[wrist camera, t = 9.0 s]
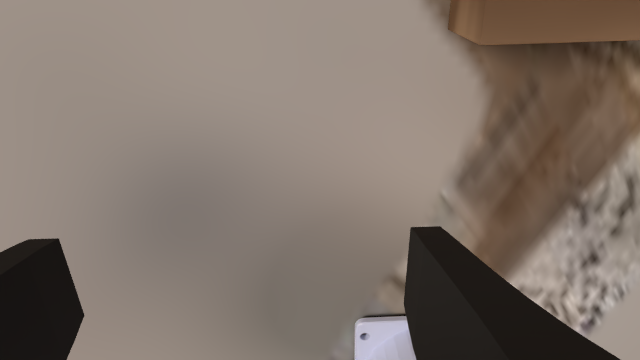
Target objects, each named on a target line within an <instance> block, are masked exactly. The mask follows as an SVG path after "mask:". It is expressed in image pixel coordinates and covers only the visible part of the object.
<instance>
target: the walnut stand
mask: <svg viewBox="0 0 640 360" xmlns="http://www.w3.org/2000/svg"><path fill="white" fill-rule="evenodd" d="M448 30H450V31H452V32H454V33H456V34H459V35H461V36H463V37H465V38H467V39H469V40H471V41H473V42H475V43H477V44H479V45H502V44H534V43H565V42H597V41H628V40H640V0H451V4H450V14H449V24H448Z"/></svg>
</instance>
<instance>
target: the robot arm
mask: <svg viewBox="0 0 640 360" xmlns="http://www.w3.org/2000/svg"><path fill="white" fill-rule="evenodd" d="M404 307H405V312H406V316H394V317H371V318H361V319H359V320H357V322H356V323H355V356H354V360H620V359H619V358H617V357H616V356H614V355H612V354H611V353H609V352H607V351H606V350H604V349H603V348H601V347H599V346H598V345H596V344H595V343H593V342H591V341H590V340H588V339H587V338H585V337H583V336H582V335H580V334H579V333H577V332H576V331H574V330H573V329H571V328H570V327H568V326H567V325H565V324H564V323H563V322H561V321H560V320H558V319H557V318H556V317H554V316H553V315H551V314H550V313H549V312H547V311H546V310H544V309H543V308H542V307H540V306H539V305H537V304H536V303H535V302H533V301H532V300H530V299H529V298H528V297H526V296H525V295H524V294H523V293H521V292H520V291H519V290H517V289H516V288H515V287H513V286H512V285H511V284H510V283H508V282H507V281H506V280H504V279H503V278H502V277H501V276H499V275H498V274H497V273H496V272H494V271H493V270H492V269H491V268H490V267H488V266H487V265H486V264H485V263H483V262H482V261H481V260H480V259H479V258H478V257H476V256H475V255H474V254H473V253H472V252H470V251H469V250H468V249H467V248H466V247H464V246H463V245H462V244H461V243H460V242H459V241H457V240H456V239H455V238H454V237H453V236H451V235H450V234H449V233H448V232H446V231H445V230H444V229H443V228H441V227H440V226H439V227H411V230H410V241H409V252H408V263H407V274H406V285H405V296H404ZM83 317H84V313H83V310H82V307H81V304H80V301H79V298H78V295H77V292H76V289H75V286H74V283H73V280H72V277H71V274H70V271H69V268H68V265H67V262H66V259H65V256H64V253H63V250H62V247H61V244H60V241H59V239H30V240H26V241H24V242H22V243H19V244H17V245H15V246H13V247H10V248H9V249H7V250H4V251H3V252H0V360H67V357H68V355H69V353H70V350H71V348H72V345H73V343H74V341H75V338H76V336H77V333H78V330H79V328H80V325H81V323H82V320H83ZM363 333H367V334H365V335H362V334H363Z"/></svg>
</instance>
